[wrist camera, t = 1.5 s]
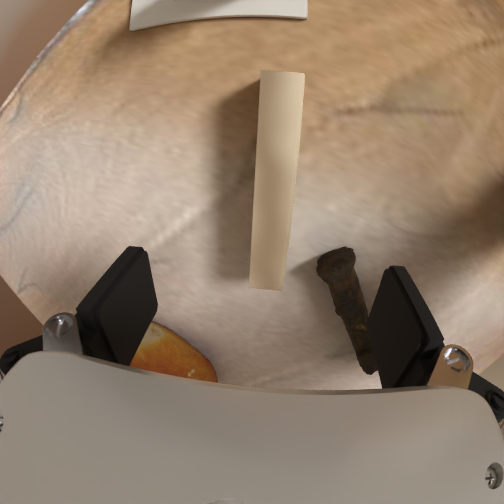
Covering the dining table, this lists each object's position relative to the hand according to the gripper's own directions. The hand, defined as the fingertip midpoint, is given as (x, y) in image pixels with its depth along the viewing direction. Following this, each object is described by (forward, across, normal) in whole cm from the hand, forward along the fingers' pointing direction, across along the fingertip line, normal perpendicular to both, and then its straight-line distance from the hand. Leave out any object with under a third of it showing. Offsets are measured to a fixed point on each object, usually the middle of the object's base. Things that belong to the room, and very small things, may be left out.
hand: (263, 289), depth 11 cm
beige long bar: (+17, 0, 0) cm, 17 cm away
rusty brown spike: (+17, -11, +15) cm, 25 cm away
